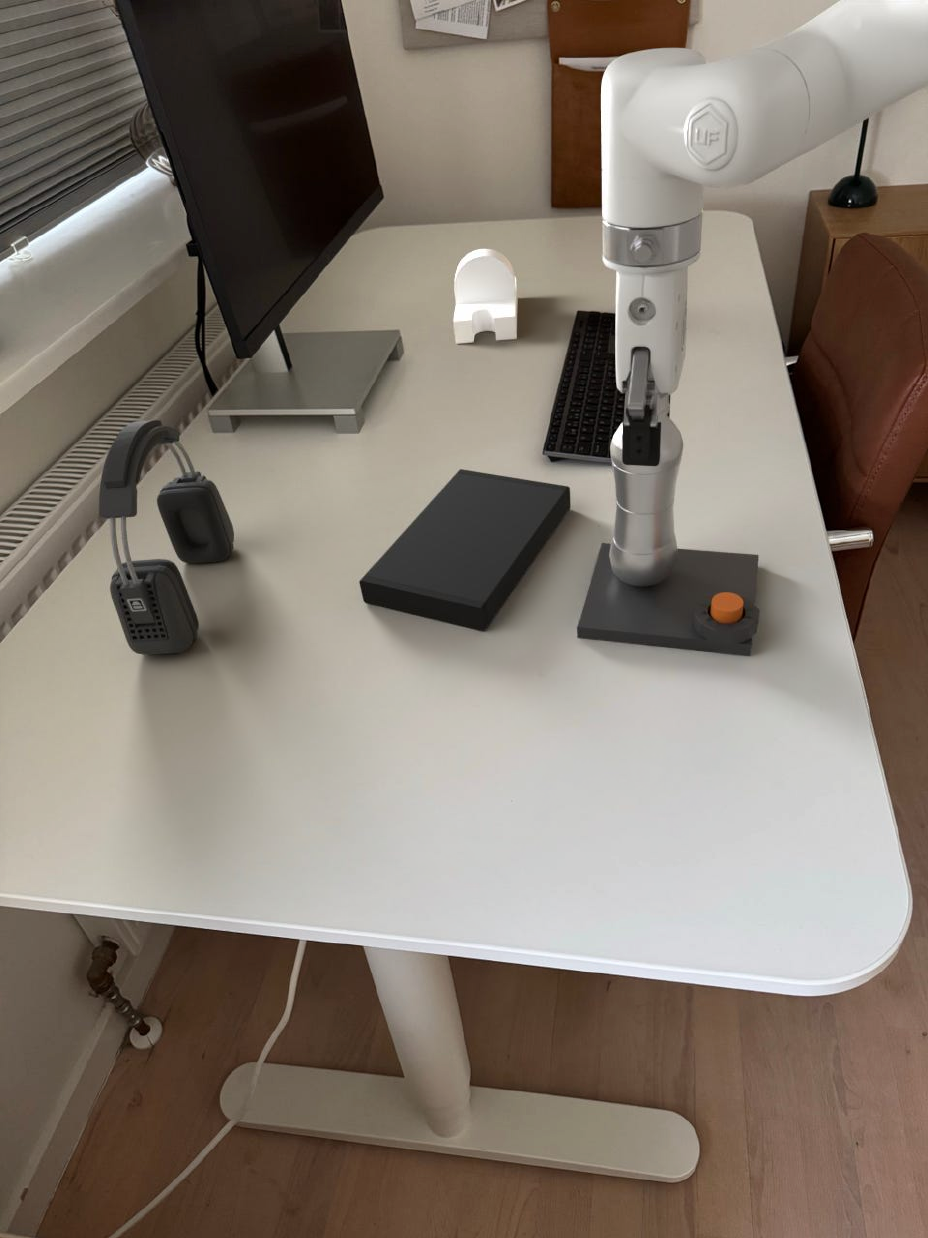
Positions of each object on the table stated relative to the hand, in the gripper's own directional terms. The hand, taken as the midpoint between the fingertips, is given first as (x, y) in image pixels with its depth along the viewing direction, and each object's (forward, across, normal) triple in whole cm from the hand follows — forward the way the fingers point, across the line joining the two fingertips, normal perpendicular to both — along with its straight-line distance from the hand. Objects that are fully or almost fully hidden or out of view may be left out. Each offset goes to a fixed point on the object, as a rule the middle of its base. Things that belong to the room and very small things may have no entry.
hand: (646, 442), depth 80 cm
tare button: (+14, -7, -8) cm, 17 cm away
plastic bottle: (+15, 0, 0) cm, 15 cm away
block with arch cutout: (+17, +68, +35) cm, 78 cm away
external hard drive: (+17, +3, +19) cm, 25 cm away
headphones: (+17, -9, +48) cm, 52 cm away
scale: (+16, -2, -3) cm, 17 cm away
